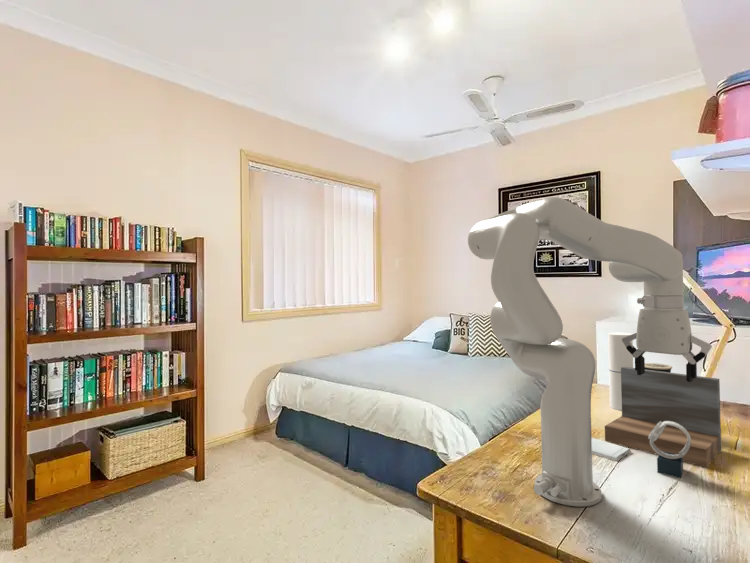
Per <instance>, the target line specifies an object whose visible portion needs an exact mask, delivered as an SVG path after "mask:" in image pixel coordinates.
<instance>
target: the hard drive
mask: <svg viewBox="0 0 750 563" xmlns="http://www.w3.org/2000/svg"><path fill="white" fill-rule="evenodd" d="M629 453H631V448H630V447H629V448H628V447H626V446H623V445H619V444H616V443H612V442H608V441H605V440H601V439H597V438H593V437H592V455H595V456H597V457H601V458H604V459H608V460H612V461H614V460H615V462H618V461H619V460H620V459H622V458H624V457H626V456H627V455H629ZM617 460H618V461H617Z"/></svg>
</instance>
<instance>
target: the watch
mask: <svg viewBox="0 0 750 563" xmlns="http://www.w3.org/2000/svg"><path fill="white" fill-rule="evenodd" d="M666 425H670V426H674V427H677V428H679V429H680V430H681V431H683V432H684V433H685V434H686V436H687V438H688V439H687V443H686V445H685V447H684V448H683V449H682V450H681V451H680V452H679V454H673V453H668V452H663V451H660V450H659V449H658V448H656V445H655V444H654V442H653V441H656V440H657V439H658V437H659V436H660V435H661V433H662V432H663V430H664V429H665V427H666ZM648 439H650V445H651V447H652V448H653V450H654V451H655V452H656V453H657V454H656V455H658V454H659V455H658V456H657V458H656V465H657V466H656V467H657V469H656V470H657V473H658V474H661V475H667V476H670V477H675V478H680V479H681V478H682V476H683V471H684V461H683V456H684V455H685V454H686V453H687V452H688V450H689V448H690V445H691V442H690V441H691V437H690V434H689V433H688V432H687V430H686V429H685V428H684V427H683V426H682V425H680V424H678V423H676V422H672V421H664V422H661V421H660V422H659V423H658V424H657V425H656V426H655V427H654V429H653V430H652V431H651V433H650V435H649V436H648Z"/></svg>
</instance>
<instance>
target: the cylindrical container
mask: <svg viewBox="0 0 750 563" xmlns="http://www.w3.org/2000/svg"><path fill="white" fill-rule="evenodd" d="M632 334H633V333H630V332H616V331H615V332H608V333H607V345H608V346H607V348H608V349H607V350H608V381H609V383H608V384H609V386H608V387H609V388H608V389H609V408H611V409H613V410H616V411H621V412H622V393H621V367H631V368H634V357H633V355H632V354H631V353H630V352H629V351H628V350H627V349H626V346H625V345H624V343H623V341H622V338H624V337H627V336H629V335H632ZM631 343H632V345H633V346H634V340H632V341H631Z"/></svg>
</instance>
